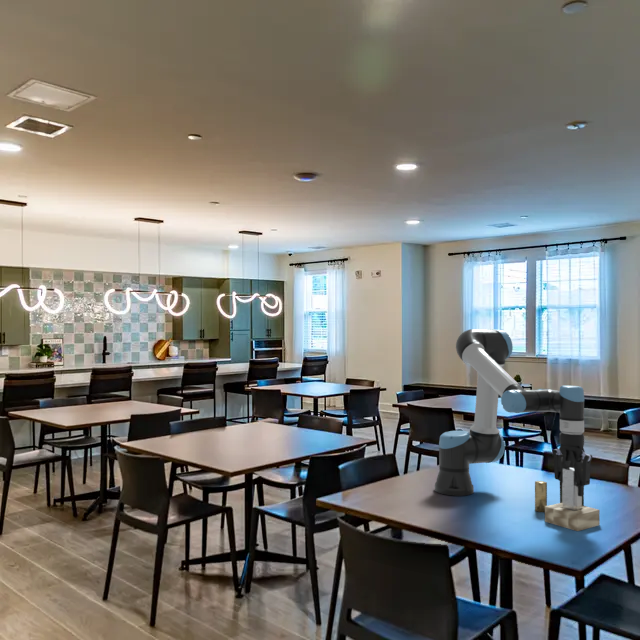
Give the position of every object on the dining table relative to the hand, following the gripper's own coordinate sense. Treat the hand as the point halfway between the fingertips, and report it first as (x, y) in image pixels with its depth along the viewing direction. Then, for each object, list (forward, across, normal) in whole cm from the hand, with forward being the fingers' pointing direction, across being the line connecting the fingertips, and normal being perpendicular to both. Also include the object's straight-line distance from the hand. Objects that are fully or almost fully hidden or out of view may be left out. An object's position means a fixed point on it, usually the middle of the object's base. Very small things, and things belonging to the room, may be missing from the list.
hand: (571, 503), depth 203 cm
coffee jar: (+7, -11, +16) cm, 21 cm away
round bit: (+6, -15, +4) cm, 17 cm away
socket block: (+6, 0, 0) cm, 6 cm away
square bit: (+3, 0, 0) cm, 3 cm away
